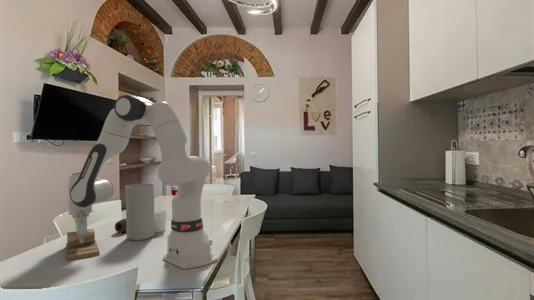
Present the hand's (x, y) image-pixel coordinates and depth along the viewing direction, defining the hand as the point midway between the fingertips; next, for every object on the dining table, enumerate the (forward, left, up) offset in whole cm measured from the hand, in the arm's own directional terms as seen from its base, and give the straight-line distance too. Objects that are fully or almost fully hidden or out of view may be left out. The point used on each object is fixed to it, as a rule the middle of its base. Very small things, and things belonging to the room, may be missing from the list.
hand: (81, 240), depth 132 cm
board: (-5, 0, -3) cm, 6 cm away
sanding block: (0, 0, -1) cm, 1 cm away
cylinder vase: (0, -24, -3) cm, 25 cm away
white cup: (+7, -34, -3) cm, 35 cm away
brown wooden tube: (+18, -22, -3) cm, 29 cm away
